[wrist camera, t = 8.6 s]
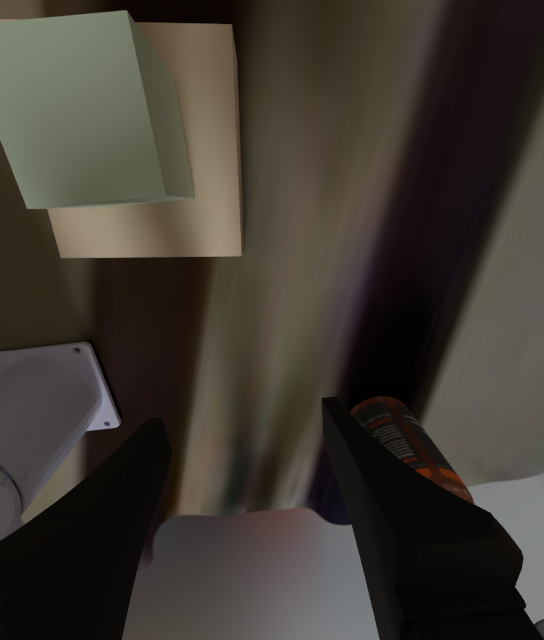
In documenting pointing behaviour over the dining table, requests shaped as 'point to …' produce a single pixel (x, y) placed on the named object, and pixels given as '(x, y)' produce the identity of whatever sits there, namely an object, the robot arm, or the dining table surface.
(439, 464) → the supplement bottle
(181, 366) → the dining table surface
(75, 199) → the sage cube
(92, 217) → the birch base
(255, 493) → the dining table surface
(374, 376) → the dining table surface
